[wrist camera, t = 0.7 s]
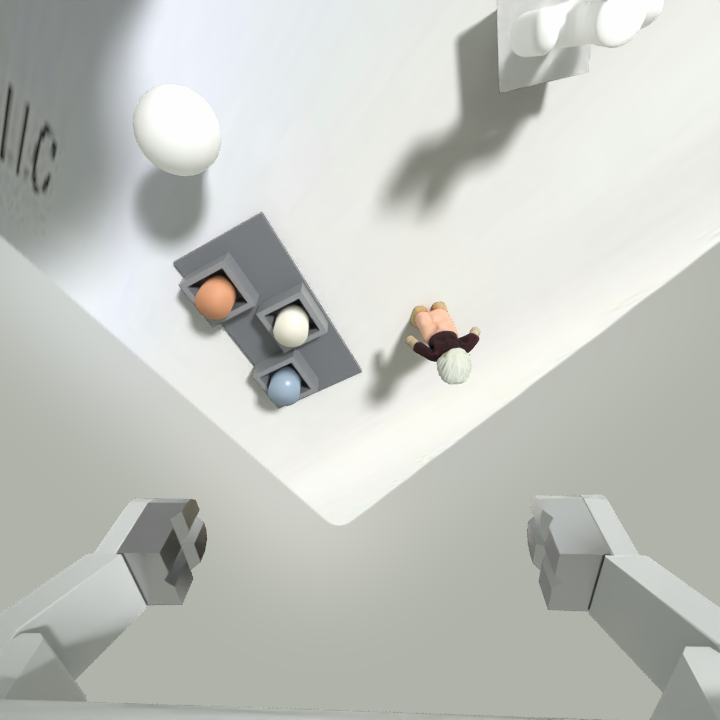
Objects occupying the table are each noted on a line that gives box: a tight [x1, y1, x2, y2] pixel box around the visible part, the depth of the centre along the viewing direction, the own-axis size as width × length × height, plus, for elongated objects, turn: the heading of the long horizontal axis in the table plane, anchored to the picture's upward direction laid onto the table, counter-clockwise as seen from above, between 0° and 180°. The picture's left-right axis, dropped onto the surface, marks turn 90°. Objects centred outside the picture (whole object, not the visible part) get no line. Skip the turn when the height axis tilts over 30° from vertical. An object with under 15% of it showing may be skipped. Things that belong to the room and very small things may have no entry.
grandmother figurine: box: [406, 302, 480, 384], centre depth 46 cm, size 8×4×13 cm, turn 110°
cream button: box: [273, 304, 309, 347], centre depth 48 cm, size 4×4×3 cm
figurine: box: [497, 0, 664, 93], centre depth 31 cm, size 7×9×15 cm
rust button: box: [195, 275, 237, 320], centre depth 45 cm, size 4×4×3 cm
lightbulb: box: [133, 84, 221, 176], centre depth 35 cm, size 6×6×11 cm
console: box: [174, 212, 362, 408], centre depth 50 cm, size 22×11×3 cm, turn 27°
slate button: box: [268, 366, 301, 406], centre depth 52 cm, size 4×4×3 cm
